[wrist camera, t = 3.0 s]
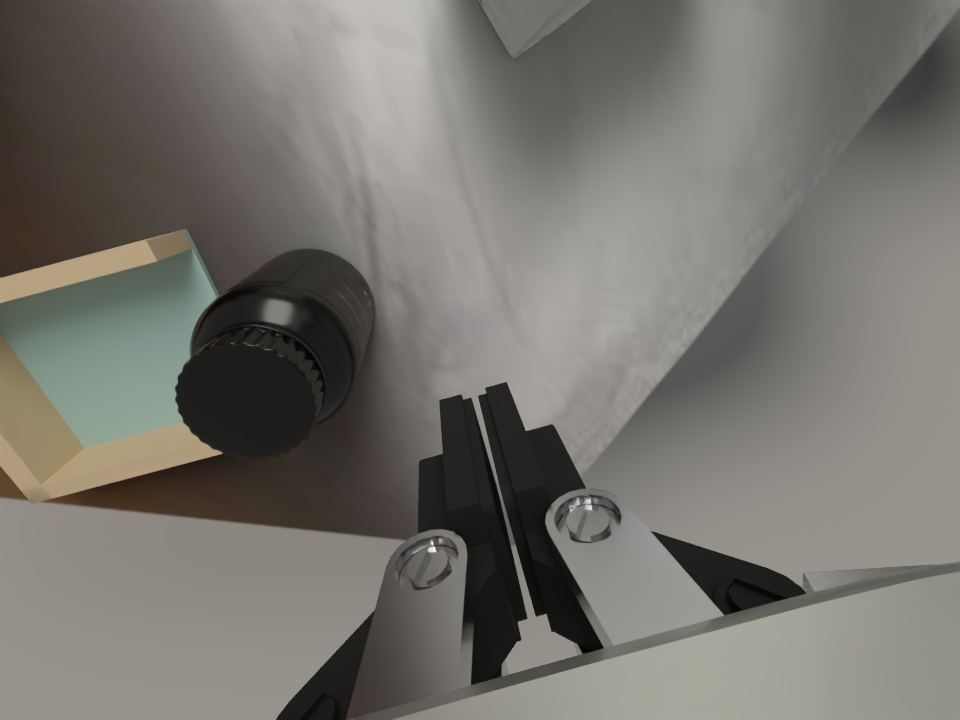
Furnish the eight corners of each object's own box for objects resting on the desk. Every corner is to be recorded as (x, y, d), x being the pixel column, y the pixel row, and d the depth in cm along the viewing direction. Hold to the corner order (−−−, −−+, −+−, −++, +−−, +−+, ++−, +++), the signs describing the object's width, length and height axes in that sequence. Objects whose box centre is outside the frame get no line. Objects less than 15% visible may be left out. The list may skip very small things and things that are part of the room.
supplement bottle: (282, 370, 29) (191, 501, 18) (236, 261, 26) (93, 338, 15) (391, 344, 29) (368, 460, 18) (357, 233, 26) (303, 289, 15)
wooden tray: (186, 228, 25) (146, 240, 21) (276, 410, 30) (255, 444, 26) (-47, 290, 25) (-127, 312, 21) (79, 462, 30) (32, 503, 26)
